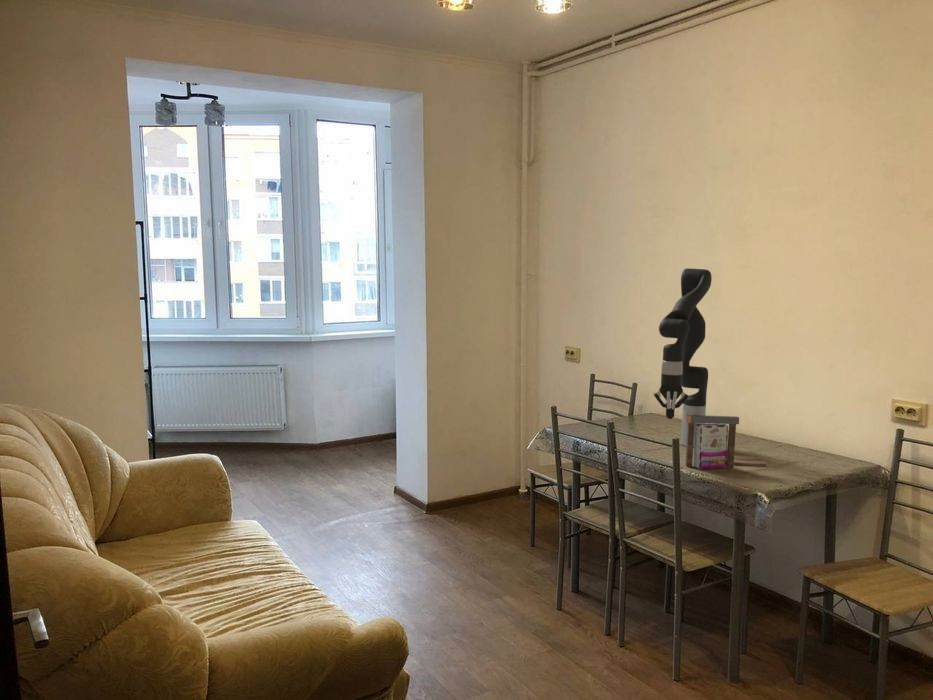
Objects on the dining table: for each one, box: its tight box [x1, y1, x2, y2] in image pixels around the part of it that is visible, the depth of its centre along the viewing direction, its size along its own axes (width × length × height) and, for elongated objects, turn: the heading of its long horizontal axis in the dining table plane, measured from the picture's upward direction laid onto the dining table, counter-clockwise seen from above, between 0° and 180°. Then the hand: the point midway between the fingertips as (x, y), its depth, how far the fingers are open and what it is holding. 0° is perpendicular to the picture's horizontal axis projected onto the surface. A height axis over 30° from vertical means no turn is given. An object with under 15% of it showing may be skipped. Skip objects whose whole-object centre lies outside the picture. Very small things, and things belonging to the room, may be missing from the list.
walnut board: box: [726, 454, 767, 467], centre depth 275 cm, size 12×16×1 cm
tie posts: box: [685, 423, 737, 469], centre depth 265 cm, size 2×17×17 cm, turn 85°
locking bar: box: [685, 414, 740, 425], centre depth 264 cm, size 2×19×3 cm, turn 85°
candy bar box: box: [693, 423, 729, 470], centre depth 265 cm, size 11×5×16 cm, turn 101°
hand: (669, 418), depth 266 cm, fingers closed
